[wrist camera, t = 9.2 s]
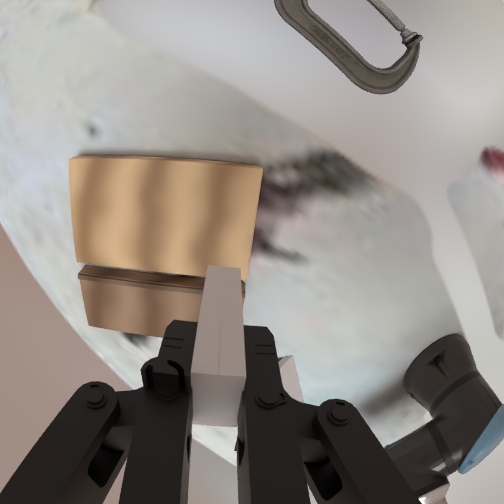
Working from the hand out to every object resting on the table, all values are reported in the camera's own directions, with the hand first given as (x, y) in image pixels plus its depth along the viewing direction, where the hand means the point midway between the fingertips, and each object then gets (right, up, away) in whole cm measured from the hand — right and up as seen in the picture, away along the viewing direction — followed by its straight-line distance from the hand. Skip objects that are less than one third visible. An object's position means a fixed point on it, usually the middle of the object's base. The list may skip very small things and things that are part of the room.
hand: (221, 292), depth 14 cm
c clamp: (+13, +29, +8) cm, 33 cm away
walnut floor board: (-10, -4, +21) cm, 23 cm away
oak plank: (-8, +6, +16) cm, 19 cm away
